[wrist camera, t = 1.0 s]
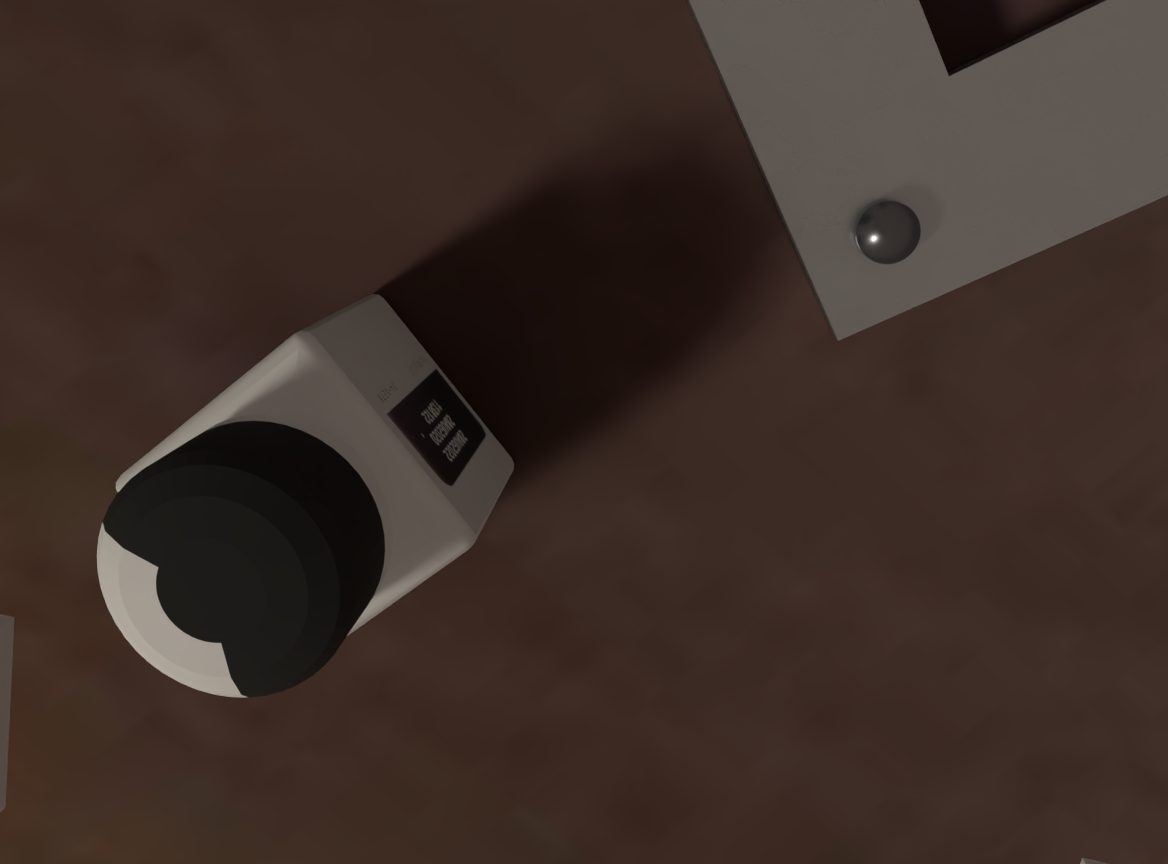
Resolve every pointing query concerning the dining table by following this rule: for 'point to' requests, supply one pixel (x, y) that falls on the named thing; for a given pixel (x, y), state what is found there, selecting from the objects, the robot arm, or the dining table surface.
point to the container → (297, 506)
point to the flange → (939, 138)
